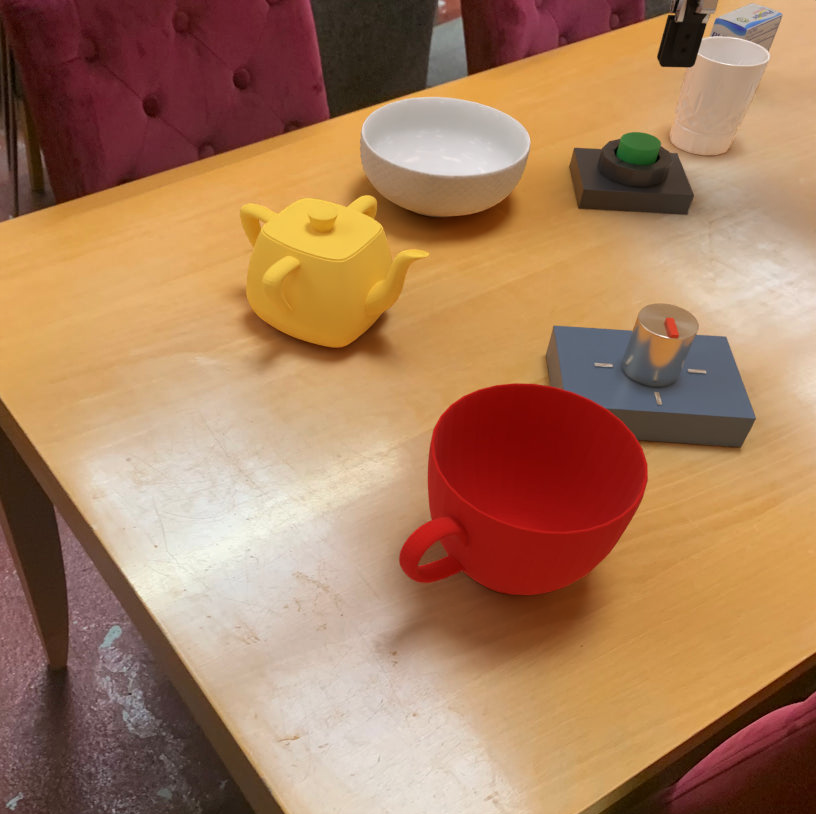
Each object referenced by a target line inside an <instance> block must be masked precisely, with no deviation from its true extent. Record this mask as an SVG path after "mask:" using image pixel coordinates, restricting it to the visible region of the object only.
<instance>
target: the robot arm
mask: <svg viewBox="0 0 816 814" xmlns="http://www.w3.org/2000/svg"><path fill="white" fill-rule="evenodd" d="M670 1H671V2H670V5H669V14H667V18H666V21H665V25H664V29H663V33H662V37H661V41H660V44H659V48H658V51H657V55H656V58H657V59H656V60H657V61H658V63H659V66H660V67H662V68H685V69H687V68H690V67H693V66H694V64H695V61H696V58H697V55H698V51H699V48H700V45H701V41H702V38H704V34H705V31H706V29H707V24H708V22H709V21H710V18H711V15H715V13H716V11H717V7H718V3H719V0H670Z"/></svg>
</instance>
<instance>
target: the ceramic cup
mask: <svg viewBox="0 0 816 814" xmlns="http://www.w3.org/2000/svg"><path fill="white" fill-rule="evenodd" d="M433 427H434V428H433V430H432V434H431V438H430V439H431V440H430V443H429V450H428V458H427V459H428V460H427V494H428V504H429V505H428V506H429V515H430V518H431V520H429V521H427V522H424V523H423V524H422V525H420V526H419V527H417V528H416V529H415V530H414V531H413V532H412V533H411V534H410V535H409V536H408V538H407V539H406V540H405V542H404V543H403V545H402V547H401V549H400V551H399V555H398V561H399V566H400V568H401V570H402V572H403V573H404V574H405V575H406V576H407V577H408V578H409V579H411V580H412V581H414V582H416V583H419V584H431V583H434V582H439V581H441V580H445V579H447V578H450V577H452V576H455V575H457V574H459V573H461V572H463V573H464V574H465V575H467V576H468V577H469V578H470V579H472V580H473V581H475V582H476V583H478V584H480V585H482V586H483V587H485V588H487V589H489V590H492V591H493V592H497V593H499V594H504V595H505V594H506V595H509V596H510V595H512V596H513V595H515V596H517V595H518V596H535V595H541V594H543V595H544V594H547V593H551V592H554V591H557V590H561V589H565V588H566V587H568V586H570V585H572V584H573V583H576V582H578V581H579V580H581V579H582V578H584V577H586V576H587V575H588V574H590V573H591V572H592V571H593V570H594V569H595V568H597V566H599V565H600V564H601V562H603V561H604V560H605V559H606V558H607V557H608V556H609V554H610V553H611V552H612V551H613V549H614V548H615V547H616V545H617V544H618V543H619V541H620V539H621V537H622V536H623V535H624V533H625V531H626V530H627V528H628V527H629V525H630V523H631V521H632V520H633V518H634V516H635V514H636V513H637V511H638V509H639V507H640V505H641V503H642V501H643V499H644V497H645V496H644V495H645V492H646V488H647V485H648V482H649V472H648V468H649V467H648V466H649V465H648V461H647V458H646V454H645V451H644V449H643V447H642V445H641V444H640V442H639V440H637V439H636V437H635V435H634V434H633V433H632V432H631V431H630V429H629V428H628V427H627V426H626V425H625V424H624V423H623V422H622V421H621V420H620V419H619V418H617V417H616V416H615V415H614V414H613V413H611V412H610V411H609V410H607V409H606V408H604V407H602V406H601V405H599V404H597V403H595V402H594V401H592V400H590V399H588V398H585V397H583V396H580V395H578V394H576V393H573V392H570V391H566V390H563V389H559V388H556V387H551V386H550V385H544V384H537V383H523V382H522V383H519V382H518V383H517V382H514V383H513V382H512V383H503V384H495V385H492V386H487V387H483V388H480V389H476V390H474V391H472V392H470V393H468V394H465V395H463V396H461V397H460V398H459V399H457V400H456V401H454V402H453V403H451V404H450V405H449V406H448V407H447V408H446V409H445V410H444V412H442V414H441V415H440V416H439V418H438V420H437V421H436V424H435V426H433ZM437 542H440V545H441V546H442V548H443V550H444V551H445V553H446V554H447V555H446V556H444V557H441V558H439V559H437V560H434V561H431V562H428V563H424V564H420V565H419V563H420V561H421V559H422V557H423V556H424V555H425V553H426V552H427V551H428V550H429V549H430V548H432V546H434V545H435V544H436V543H437Z"/></svg>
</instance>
